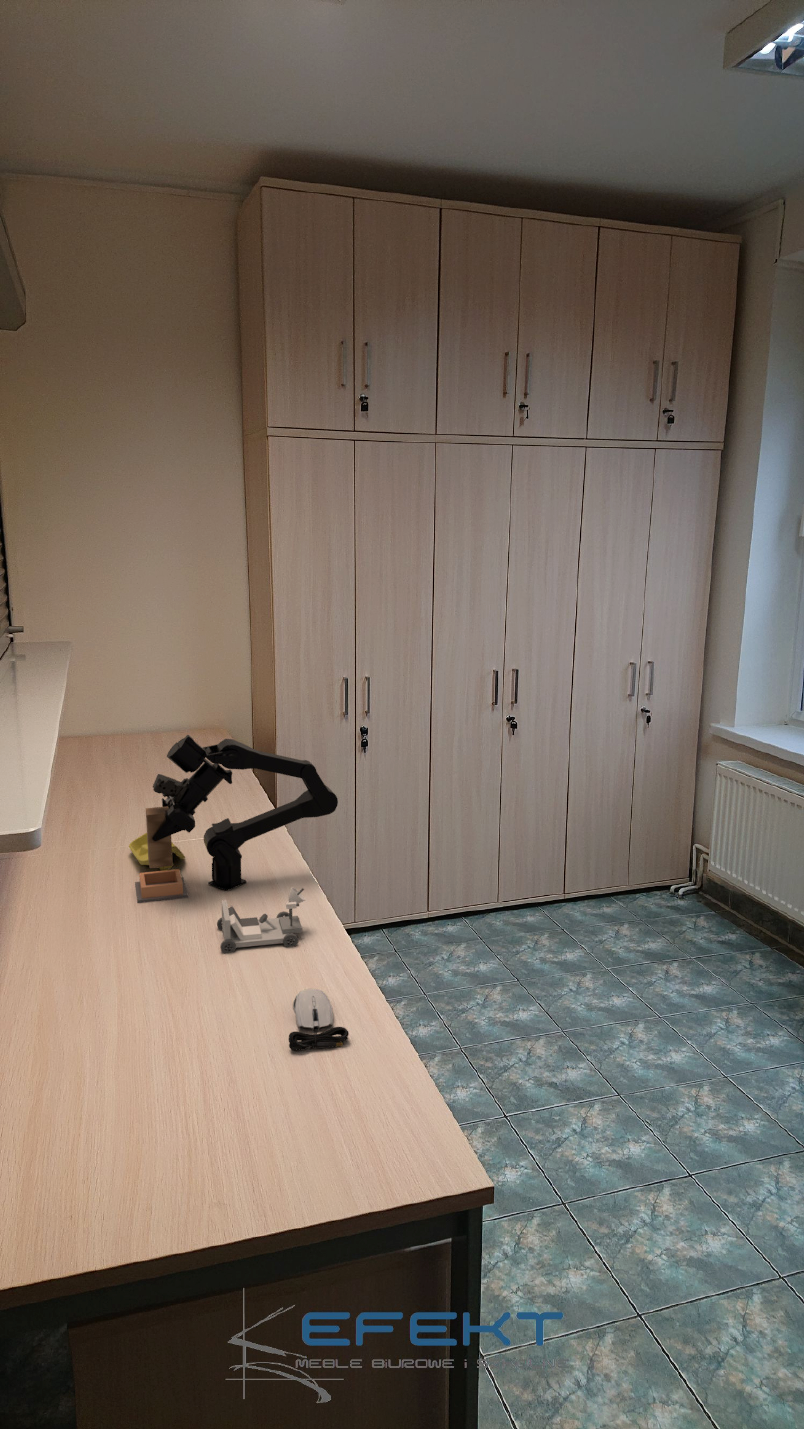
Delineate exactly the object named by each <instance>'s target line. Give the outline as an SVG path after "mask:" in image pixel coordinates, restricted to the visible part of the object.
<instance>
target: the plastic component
mask: <svg viewBox="0 0 804 1429" xmlns="http://www.w3.org/2000/svg"><path fill="white" fill-rule="evenodd" d="M128 848H129V850H130V851H131V853H132V854H133V856H134V858H135V859H136V861H138V863H139V864H140V866H149V861H148V844H147V832H145V833H144V834H142V835H140V836H139V837H137V838H135V839H134V840H132V841H131V842H130V843H129V844H128ZM172 854H175V856H176V857H178V858H179V859H180V860H184V859H185V858H186V856H185V855H184V853H183V852H182V851H181V850H180V849H179V847H178V846H177V845H175V843H173V842H172ZM173 866H174V863H173ZM173 866H166V867H158V868H159V871H165V870H171V869H172V867H173Z"/></svg>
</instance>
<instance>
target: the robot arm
mask: <svg viewBox="0 0 804 1429" xmlns="http://www.w3.org/2000/svg"><path fill="white" fill-rule="evenodd" d="M166 758H168V760H170V761H171V762H172V763H173V764H175V766H177V767H178V768H179V769H180V770H182V771H183V772H184V773H186V774H187V773H193V774H192V775H191V776H190V777H189V778H188V777H186V778H183V780H181V781H179V780H178V779H175V778H172V777H169V776H166V775H164V774H161V773H158V774H157V775H156V778H155V780H154V783H152V784H153V785H152V788H153V789H152V790H153V792H155V793H156V794H162V795H161V796H162V798H161V807H166V806H168V807H169V810H168V811H166V810H165V820H164V821H163V823H162V824H161V825H160V827H159V828H158V830H157V831H156V833H155V834H154V836H153V837H152V839H153V840H154V841H158V840H160V839H163V838H165V837H167V836H170V835H171V836H172V835H174V834H177V833H180V832H183V831H186V832H187V833H189V834H190V833H191V832H192V831H193V830H194V829H195V828H196V820H195V817H194V815H195V814H196V809H197V808H198V807H199V806H200V805H201V804H202V803H206V802H207V801H208V800H209V799H208V798H209V797H208V796H209V795H210V794H211V793H212V792H213V791H214V790H215V789H216V788H217V786H218V785H220V783H221V782H222V781H223V780H225V781H226V783H227V784H229V785H232V784H233V778H232V777H233V770H251V769H252V770H253V769H256V770H259V771H261V770H262V771H264V772H265V771H266V772H270V773H274V774H279V775H284V776H287V777H294V778H297V779H301V780H302V782H303V784H304V785H305V788H306V789H307V790H305V791H304V792H302V794H300V795H299V796H298V797H297V798H296V799H295V800H292V801H291V802H288V803H285V804H283V805H281V806H278V807H275V808H273V809H269V810H268V811H265V812H263V813H260V814H258V815H255V816H253V817H250V818H248V819H246V820H243V821H240V822H233V823H232V822H231V820H230V819H229V817H228V818H225V819H223V820H222V821H219V822H217V823H215V822H214V823H211V827H209V828H207V829H206V830H205V833H204V834H203V844H204V846H205V848H206V850H207V853H208V854H209V855H210V856H211V857H212V858H211V860H212V861H211V879H212V880H210V881H208V882H207V884H208V885H209V886H211V887H215V888H218V889H220V890H223V891H227V892H228V891H230V890H232V889H235V888H237V887H239V886H242V885H245V884H247V880H246V879H244V878H242V858H243V854H242V853H241V852H240V850H239V848H241V846H242V845H244V844H245V843H246V842H248V841H249V840H252V839H255V838H256V837H259V836H262V835H265V834H267V833H269V832H272V831H274V830H276V829H279V828H282V827H285V826H286V825H289V824H291V823H292V824H293V823H294V822H297V821H299V820H301V819H306V818H319V817H323V816H328V815H331V814H333V813H334V812H335V811H336V810H337V807H338V806H339V805H338V804H339V801H338V797H337V794H335V793H334V792H333V791H332V789H331V788H330V787H329V786H327V785H326V784H325V783H324V782H323V780H322V778H321V776H320V775H319V773H318V772H317V768H316V767H315V765H314V764H313V763H312V762H311V761H309V760H306V759H302V760H301V759H298V758H293V757H289V756H288V757H287V756H284V755H279V754H275V753H271V752H266V751H262V750H261V751H260V750H257V749H254V748H252V747H251V746H249V745H247V744H245V743H242V742H240V741H238V740H235V739H232V738H224V739H223V740H221V741H220V742H219V743H218V744H214V745H208V746H203V747H202V746H201V745H200V744H198V742H196V741H195V740H194V738H193V737H192V736H190V735H189V734H186V736H184V738H181V739H180V740H178V742H175V743H174V744H173V745H172V746H171V748H170V749H169V750H168V752H167V754H166Z"/></svg>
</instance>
